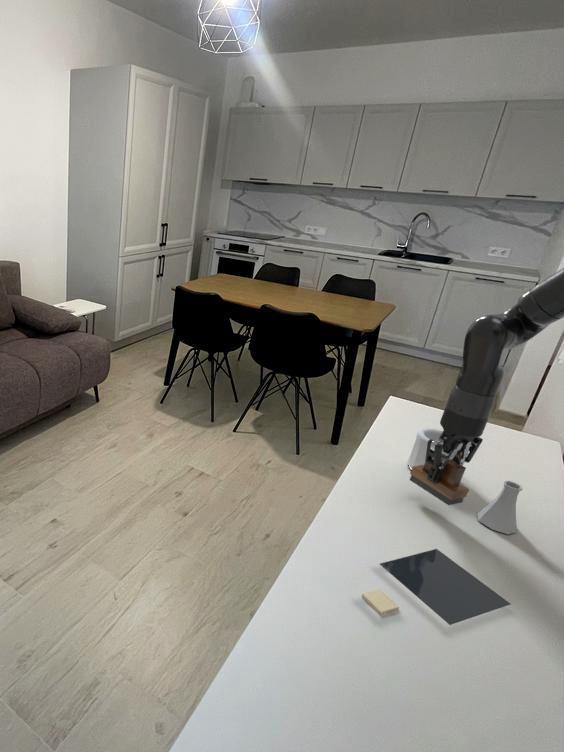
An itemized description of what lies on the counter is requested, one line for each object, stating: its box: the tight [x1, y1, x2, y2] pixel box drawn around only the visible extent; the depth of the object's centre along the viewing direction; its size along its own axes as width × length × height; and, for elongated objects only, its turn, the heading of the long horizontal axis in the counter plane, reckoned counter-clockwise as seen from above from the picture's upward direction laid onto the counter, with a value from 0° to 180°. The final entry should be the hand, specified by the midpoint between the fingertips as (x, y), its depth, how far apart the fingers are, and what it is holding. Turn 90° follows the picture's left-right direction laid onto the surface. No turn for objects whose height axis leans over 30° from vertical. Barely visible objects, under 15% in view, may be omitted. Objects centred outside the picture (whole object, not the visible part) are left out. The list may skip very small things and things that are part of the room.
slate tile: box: [379, 548, 511, 626], centre depth 88 cm, size 15×14×1 cm
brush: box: [409, 457, 470, 506], centre depth 108 cm, size 4×10×8 cm, turn 20°
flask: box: [476, 480, 523, 535], centre depth 105 cm, size 7×7×10 cm
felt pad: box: [361, 588, 400, 616], centre depth 82 cm, size 4×4×2 cm
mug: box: [407, 427, 449, 468], centre depth 125 cm, size 14×11×10 cm
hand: (440, 479), depth 108 cm, fingers closed on brush, 4 cm apart
